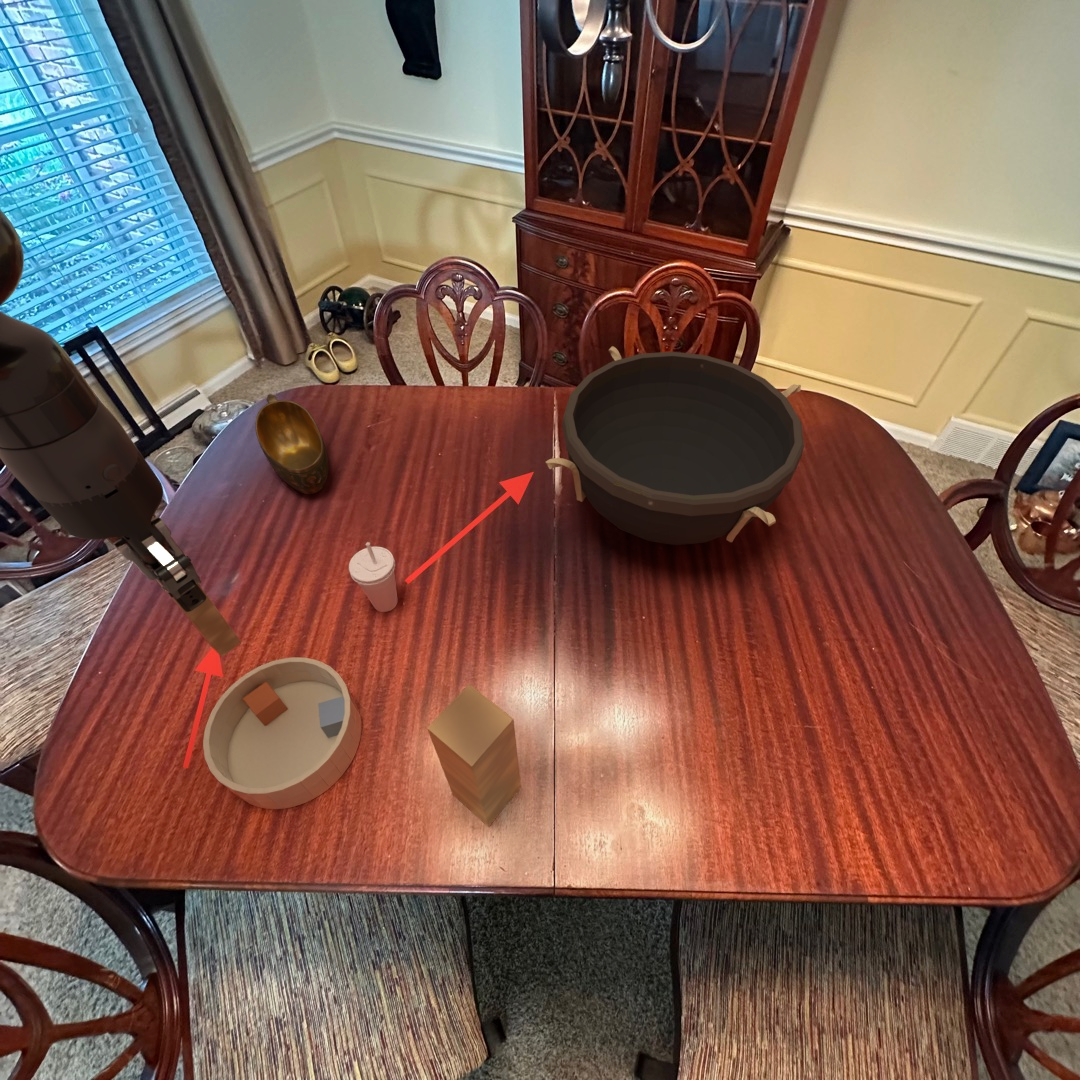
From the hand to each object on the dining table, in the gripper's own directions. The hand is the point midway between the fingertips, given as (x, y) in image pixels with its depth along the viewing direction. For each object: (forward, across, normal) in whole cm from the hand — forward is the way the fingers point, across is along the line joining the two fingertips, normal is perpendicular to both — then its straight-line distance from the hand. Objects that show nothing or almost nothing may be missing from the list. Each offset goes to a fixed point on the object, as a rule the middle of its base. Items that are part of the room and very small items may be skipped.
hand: (187, 596), depth 58 cm
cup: (+29, -39, +32) cm, 58 cm away
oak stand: (+28, +27, +10) cm, 41 cm away
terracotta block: (+28, -2, 0) cm, 28 cm away
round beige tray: (+28, +3, -1) cm, 29 cm away
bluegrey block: (+28, +6, +4) cm, 29 cm away
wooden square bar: (+9, 0, 0) cm, 9 cm away
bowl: (+29, +19, +64) cm, 73 cm away
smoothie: (+29, -4, +21) cm, 36 cm away
